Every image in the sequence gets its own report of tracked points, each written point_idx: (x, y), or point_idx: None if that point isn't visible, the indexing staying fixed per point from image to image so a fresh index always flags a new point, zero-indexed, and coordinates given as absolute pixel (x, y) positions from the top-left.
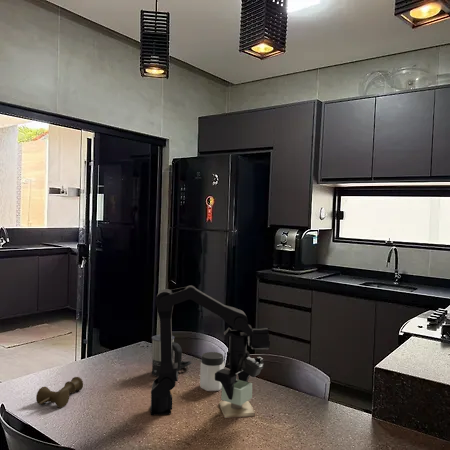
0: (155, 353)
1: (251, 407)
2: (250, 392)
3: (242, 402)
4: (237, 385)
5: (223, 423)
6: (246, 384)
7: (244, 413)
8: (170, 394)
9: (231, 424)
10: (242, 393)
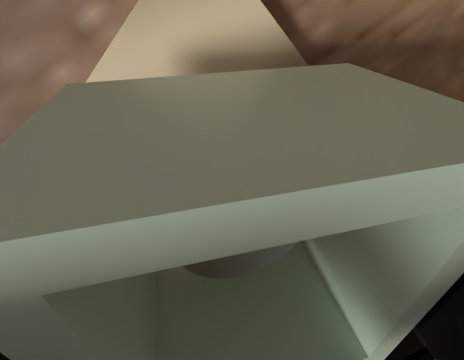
0: None
1: (124, 38)
2: (97, 114)
3: (319, 71)
4: (147, 322)
5: (411, 82)
6: (87, 292)
7: (274, 22)
8: (419, 342)
9: (415, 28)
10: (422, 112)
